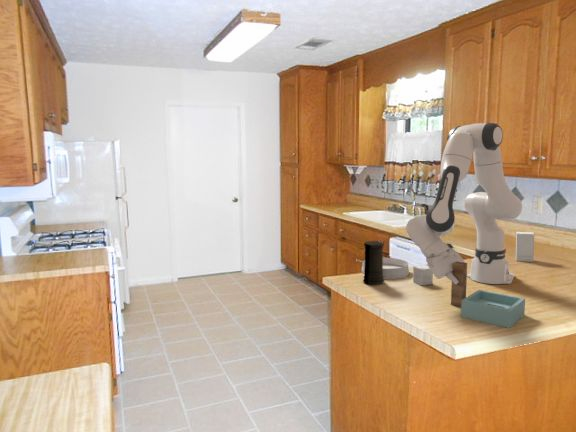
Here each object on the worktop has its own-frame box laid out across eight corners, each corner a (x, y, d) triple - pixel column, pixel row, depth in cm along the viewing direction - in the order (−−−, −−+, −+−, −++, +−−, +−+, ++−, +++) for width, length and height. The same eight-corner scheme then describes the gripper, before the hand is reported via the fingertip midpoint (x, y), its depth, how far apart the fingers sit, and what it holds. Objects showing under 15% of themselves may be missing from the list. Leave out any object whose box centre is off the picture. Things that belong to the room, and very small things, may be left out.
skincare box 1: (424, 280, 204) (424, 264, 203) (432, 284, 198) (433, 267, 197) (412, 282, 202) (413, 266, 201) (421, 285, 196) (421, 269, 195)
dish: (383, 264, 234) (383, 255, 233) (418, 273, 216) (418, 263, 216) (352, 272, 221) (352, 262, 220) (387, 282, 203) (387, 271, 203)
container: (384, 280, 205) (385, 241, 203) (383, 286, 197) (383, 245, 194) (364, 279, 208) (364, 240, 205) (362, 284, 199) (362, 244, 197)
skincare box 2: (532, 259, 238) (534, 231, 236) (533, 262, 233) (535, 233, 231) (514, 258, 241) (516, 231, 239) (515, 261, 236) (516, 233, 234)
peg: (455, 301, 175) (456, 261, 173) (465, 304, 172) (467, 262, 170) (450, 304, 172) (452, 263, 170) (461, 306, 169) (462, 265, 167)
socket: (478, 305, 171) (479, 289, 170) (524, 314, 160) (525, 298, 159) (461, 316, 159) (461, 300, 159) (509, 328, 149) (510, 310, 148)
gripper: (430, 252, 166) (455, 283, 161) (453, 243, 181) (477, 271, 176) (418, 262, 170) (442, 292, 165) (442, 252, 185) (465, 280, 180)
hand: (460, 281), depth 171 cm, fingers closed on peg, 4 cm apart
